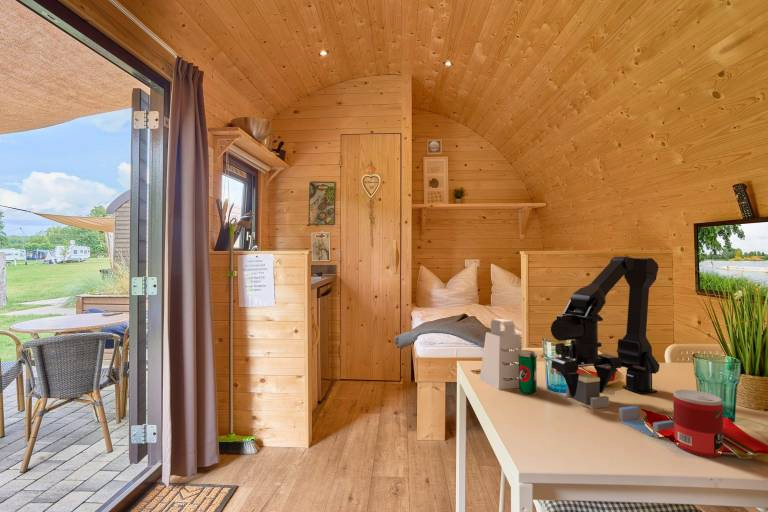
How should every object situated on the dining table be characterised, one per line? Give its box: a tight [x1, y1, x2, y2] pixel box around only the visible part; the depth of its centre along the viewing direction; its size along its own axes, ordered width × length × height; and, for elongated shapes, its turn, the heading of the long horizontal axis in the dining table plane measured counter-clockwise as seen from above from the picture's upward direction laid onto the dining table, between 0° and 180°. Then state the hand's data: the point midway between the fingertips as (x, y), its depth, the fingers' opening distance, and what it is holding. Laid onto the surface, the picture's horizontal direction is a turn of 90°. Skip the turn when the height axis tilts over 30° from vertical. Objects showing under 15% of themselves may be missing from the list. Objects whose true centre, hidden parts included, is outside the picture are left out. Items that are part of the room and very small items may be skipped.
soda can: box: [517, 349, 538, 395], centre depth 117 cm, size 5×5×12 cm
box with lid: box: [573, 372, 601, 406], centre depth 109 cm, size 5×5×7 cm
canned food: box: [672, 389, 724, 458], centre depth 82 cm, size 8×8×11 cm
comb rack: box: [565, 386, 674, 439], centre depth 100 cm, size 6×28×3 cm, turn 16°
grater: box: [479, 318, 523, 391], centre depth 126 cm, size 10×10×20 cm
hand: (586, 394), depth 109 cm, fingers open, 9 cm apart
